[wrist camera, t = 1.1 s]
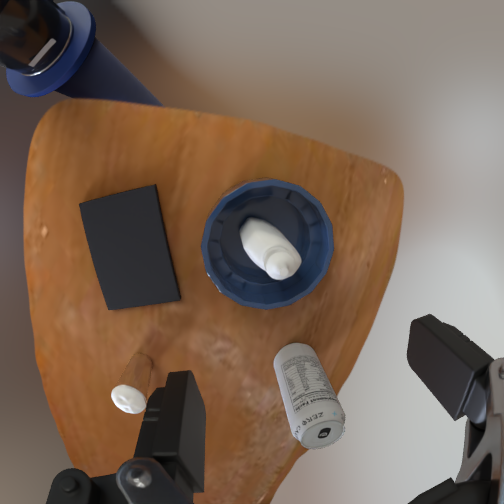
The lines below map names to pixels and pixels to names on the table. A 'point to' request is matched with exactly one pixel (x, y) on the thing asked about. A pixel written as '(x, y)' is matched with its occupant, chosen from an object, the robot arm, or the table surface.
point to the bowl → (287, 222)
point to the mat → (130, 248)
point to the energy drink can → (308, 397)
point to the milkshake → (133, 385)
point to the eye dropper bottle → (269, 248)
